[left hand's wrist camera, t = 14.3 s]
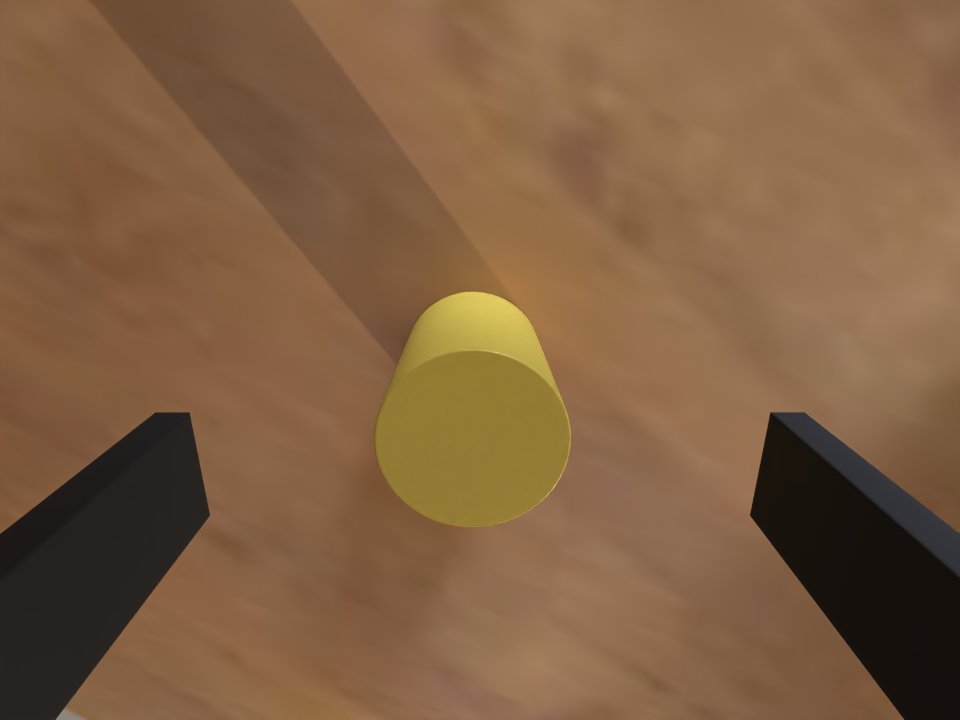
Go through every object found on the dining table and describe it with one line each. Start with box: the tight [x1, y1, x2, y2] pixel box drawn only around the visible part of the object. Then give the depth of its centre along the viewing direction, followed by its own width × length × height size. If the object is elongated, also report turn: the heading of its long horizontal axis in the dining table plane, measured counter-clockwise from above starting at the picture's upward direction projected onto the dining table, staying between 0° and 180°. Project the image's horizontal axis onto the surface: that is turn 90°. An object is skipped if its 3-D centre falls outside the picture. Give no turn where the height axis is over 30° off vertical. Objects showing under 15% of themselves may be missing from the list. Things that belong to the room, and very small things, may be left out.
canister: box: [374, 292, 571, 527], centre depth 19 cm, size 5×5×8 cm
